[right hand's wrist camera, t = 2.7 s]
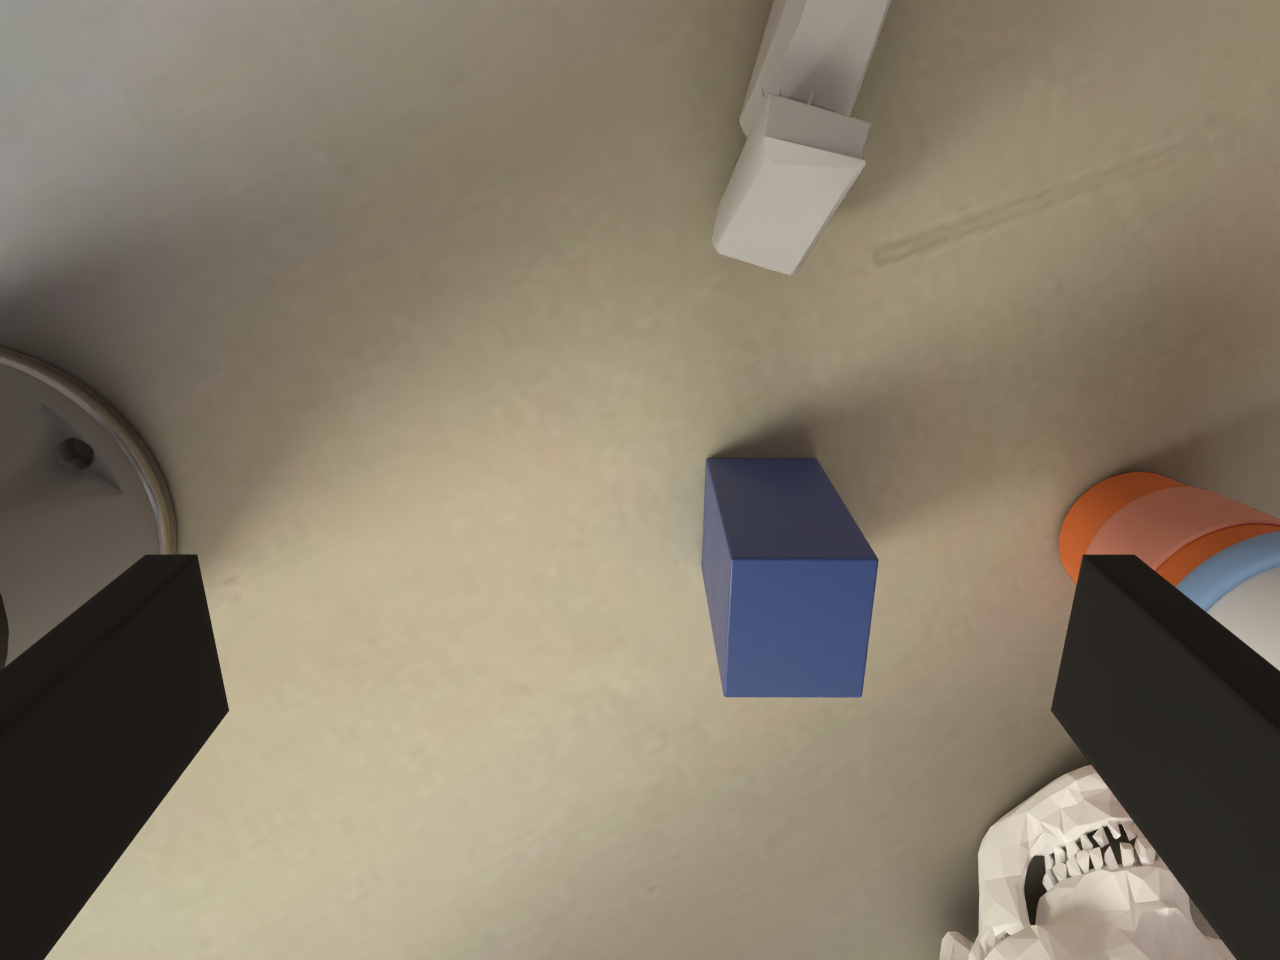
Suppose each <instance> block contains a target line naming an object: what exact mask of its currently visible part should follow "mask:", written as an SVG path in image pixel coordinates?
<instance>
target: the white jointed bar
mask: <svg viewBox="0 0 1280 960" xmlns="http://www.w3.org/2000/svg"><path fill="white" fill-rule="evenodd" d="M891 1H892V0H774V1H773V4H772V8H771V11H770V15H769V18H768V21H767V25H766V28H765V32H764V35H763V39H762V42H761V46H760V49H759V52H758V56H757V59H756V63H755V66H754V70H753V73H752V77H751V80H750V84H749V87H748V90H747V94H746V97H745V101H744V104H743V108H742V111H741V115H740V118H739V122H740V125H741V128H742V131H743V133H744V134H745V135H746V137H747V141H746V143H745V145H744V148H743V150H742V152H741V155H740V157H739V159H738V162H737V164H736V166H735V169H734V171H733V174H732V176H731V178H730V181H729V183H728V185H727V188H726V190H725V193H724V195H723V197H722V200H721V202H720V204H719V207H718V211H717V216H716V222H715V227H714V233H713V239H712V244H713V245H714V247H715V249H716V251H717V252H718V253H720V254H721V255H724V256H727V257H730V258H734V259H737V260H740V261H744V262H747V263H750V264H754V265H757V266H760V267H764V268H767V269H770V270H773V271H777V272H780V273H783V274H786V275H789V276H792V275H793V274H795V273H797V272H798V271H799V269H800V268H801V266H802V264H803V263H804V261H805V260H806V258H807V256H808V255H809V253H810V252H811V250H812V248H813V247H814V245H815V243H816V242H817V240H818V239H819V237H820V235H821V234H822V232H823V231H824V229H825V227H826V226H827V224H828V223H829V221H830V219H831V218H832V216H833V214H834V213H835V211H836V210H837V208H838V207H839V205H840V204H841V202H842V200H843V199H844V197H845V196H846V194H847V193H848V191H849V190H850V188H851V186H852V185H853V183H854V182H855V180H856V179H857V177H858V176H859V174H860V173H861V171H862V169H863V168H864V166H865V165H866V162H865V160H864V159H863V157H862V156H863V152H864V149H865V145H866V142H867V138H868V135H869V132H870V128H871V125H872V124H871V123H870V122H868V121H864V120H861V119H858V118H854V117H851V116H850V115H851V112H852V109H853V107H854V104H855V101H856V99H857V96H858V93H859V90H860V88H861V85H862V82H863V80H864V77H865V74H866V72H867V69H868V66H869V64H870V61H871V58H872V55H873V53H874V50H875V47H876V44H877V41H878V39H879V36H880V33H881V30H882V27H883V24H884V21H885V18H886V15H887V13H888V10H889V7H890V4H891Z"/></svg>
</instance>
